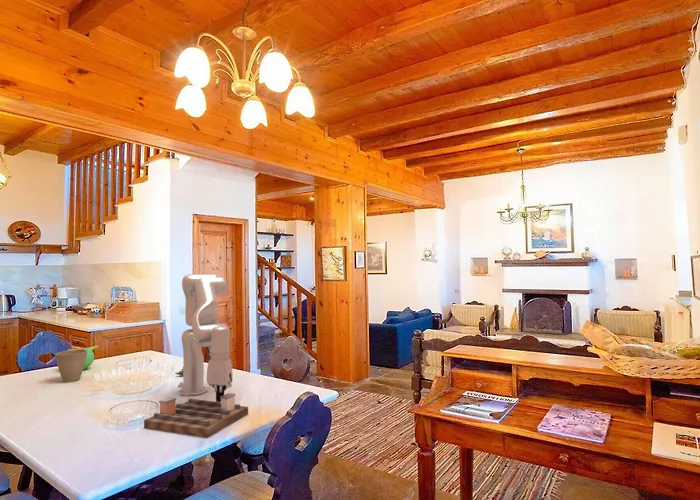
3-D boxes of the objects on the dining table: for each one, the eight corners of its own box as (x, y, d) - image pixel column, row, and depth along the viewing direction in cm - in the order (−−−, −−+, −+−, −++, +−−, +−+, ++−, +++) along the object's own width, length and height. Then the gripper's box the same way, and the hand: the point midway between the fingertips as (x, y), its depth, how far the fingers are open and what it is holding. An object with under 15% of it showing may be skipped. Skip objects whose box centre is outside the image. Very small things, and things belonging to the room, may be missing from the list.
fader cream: (220, 411, 169) (220, 396, 169) (228, 407, 174) (228, 392, 174) (227, 412, 167) (227, 397, 168) (235, 408, 172) (235, 393, 173)
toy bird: (54, 372, 251) (54, 348, 252) (76, 366, 268) (77, 343, 269) (80, 373, 248) (80, 348, 249) (101, 366, 265) (101, 343, 266)
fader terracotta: (159, 416, 164) (159, 400, 164) (169, 411, 169) (169, 396, 169) (166, 417, 163) (166, 401, 163) (176, 412, 168) (176, 397, 168)
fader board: (143, 427, 161) (144, 415, 161) (190, 406, 185) (190, 396, 186) (207, 437, 151) (207, 424, 151) (248, 413, 175) (248, 402, 175)
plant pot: (80, 375, 243) (80, 348, 243) (91, 379, 234) (92, 351, 235) (50, 381, 230) (51, 352, 231) (61, 385, 222) (61, 355, 222)
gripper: (199, 357, 172) (199, 401, 171) (229, 359, 167) (229, 405, 166) (211, 353, 179) (211, 396, 178) (240, 355, 174) (240, 400, 173)
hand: (220, 400), depth 172 cm, fingers closed
